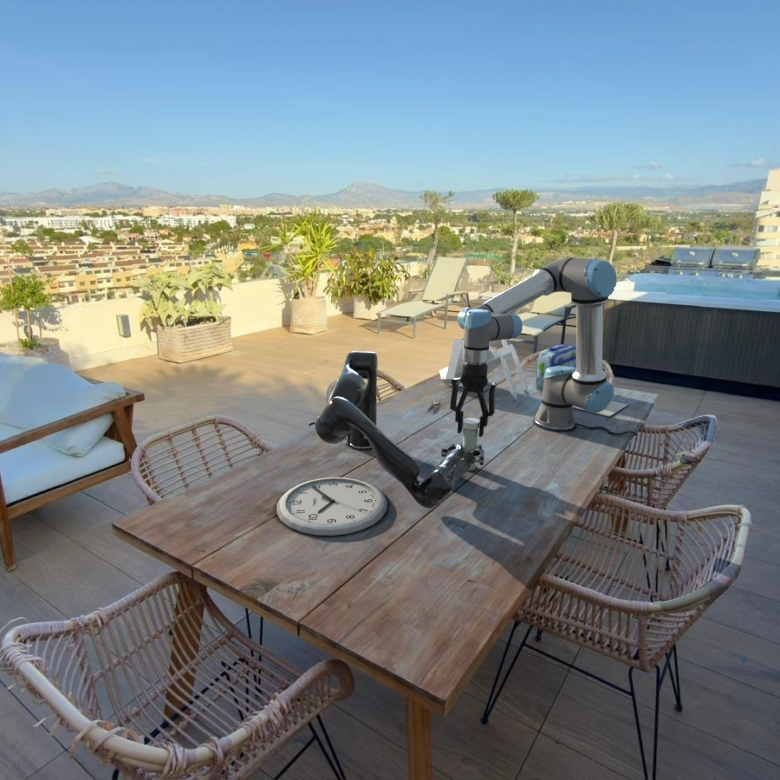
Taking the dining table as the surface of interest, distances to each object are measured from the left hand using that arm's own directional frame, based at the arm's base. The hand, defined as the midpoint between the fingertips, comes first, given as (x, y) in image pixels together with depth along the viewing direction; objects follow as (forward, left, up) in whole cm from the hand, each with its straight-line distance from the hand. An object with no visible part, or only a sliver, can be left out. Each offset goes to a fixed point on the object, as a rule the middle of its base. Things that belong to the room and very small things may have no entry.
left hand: (471, 445), depth 167 cm
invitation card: (+32, +82, -7) cm, 89 cm away
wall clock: (-25, -43, -7) cm, 50 cm away
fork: (-32, +47, -7) cm, 57 cm away
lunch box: (+10, +99, -7) cm, 100 cm away
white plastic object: (-20, +76, -7) cm, 79 cm away
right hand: (0, -3, +5) cm, 6 cm away
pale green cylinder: (0, -3, -7) cm, 7 cm away
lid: (0, -3, +9) cm, 9 cm away
